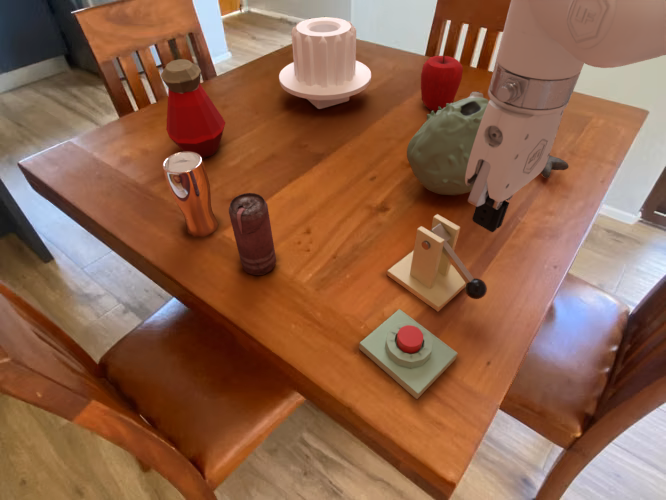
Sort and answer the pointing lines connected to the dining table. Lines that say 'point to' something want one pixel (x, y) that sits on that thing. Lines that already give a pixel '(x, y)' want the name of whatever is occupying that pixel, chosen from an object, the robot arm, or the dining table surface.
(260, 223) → the can
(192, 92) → the bottle
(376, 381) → the dining table surface
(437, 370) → the grey button base
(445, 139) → the green rock
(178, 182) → the beer glass
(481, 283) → the switch lever
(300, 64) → the ribbed cylinder on disc
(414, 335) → the console button
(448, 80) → the apple
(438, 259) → the switch bracket
